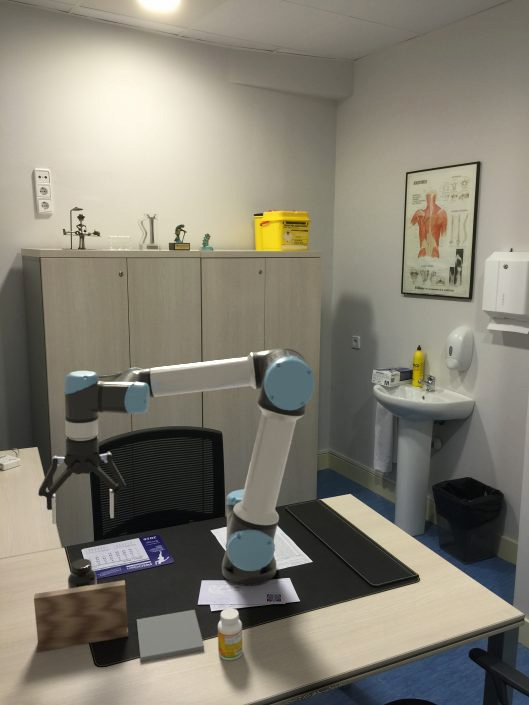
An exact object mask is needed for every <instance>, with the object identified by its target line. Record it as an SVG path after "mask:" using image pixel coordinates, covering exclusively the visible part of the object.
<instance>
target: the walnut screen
mask: <svg viewBox="0 0 529 705" xmlns="http://www.w3.org/2000/svg"><path fill="white" fill-rule="evenodd" d="M126 592H127V591H126V581H125V579H123V580H117V581H111V582H105V583H99V584H98V583H97V584H96V585H90V586H83V587H76V588H70V589H68V588H64V589H59V590H58V589H57V590H52V591H45V592H38V593H34V595H33V603H34V615H35V625H36V626H35V628H36V634H37V646H36V651H37V653H42V652H45V651H51V650H52V651H53V650H57V649H63V648H69V647H76V646H81V645H86V644H91V643H98V642H104V641H110V640H115V639H119V638H120V639H121V638H126V637H129V629H128V627H129V626H128V625H129V624H128V609H127V595H126Z"/></svg>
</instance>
